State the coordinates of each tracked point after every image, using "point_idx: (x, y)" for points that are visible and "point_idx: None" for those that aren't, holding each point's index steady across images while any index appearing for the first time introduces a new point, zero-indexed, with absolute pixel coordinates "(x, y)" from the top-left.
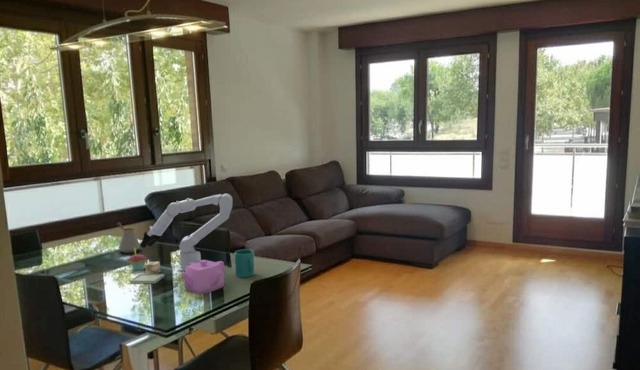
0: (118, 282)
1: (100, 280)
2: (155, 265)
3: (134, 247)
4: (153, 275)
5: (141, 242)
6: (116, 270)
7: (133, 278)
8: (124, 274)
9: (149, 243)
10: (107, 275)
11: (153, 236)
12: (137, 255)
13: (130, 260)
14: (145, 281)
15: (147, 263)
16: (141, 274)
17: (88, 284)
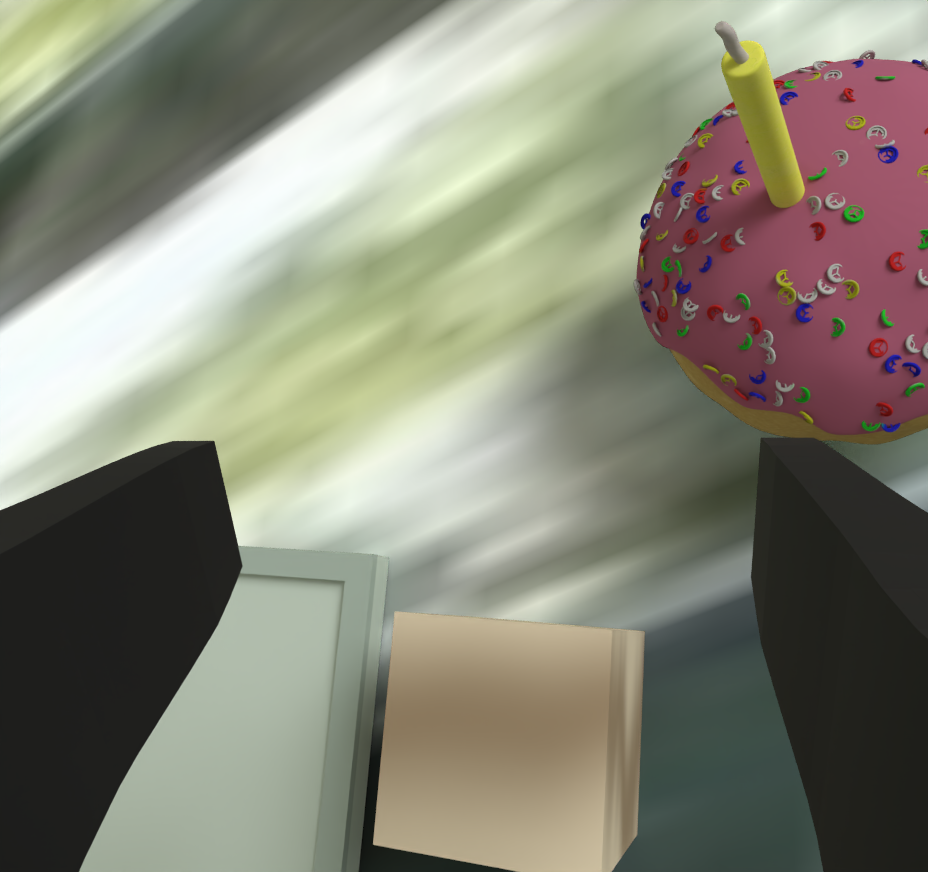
0: (163, 372)
1: (263, 98)
2: (392, 842)
3: (732, 58)
4: (310, 813)
5: (92, 471)
6: (705, 16)
7: None
8: (491, 261)
9: (775, 545)
10: (458, 49)
11: (894, 780)
12: (804, 219)
13: (666, 169)
14: None
15: (470, 631)
16: (343, 590)
17: (145, 60)
